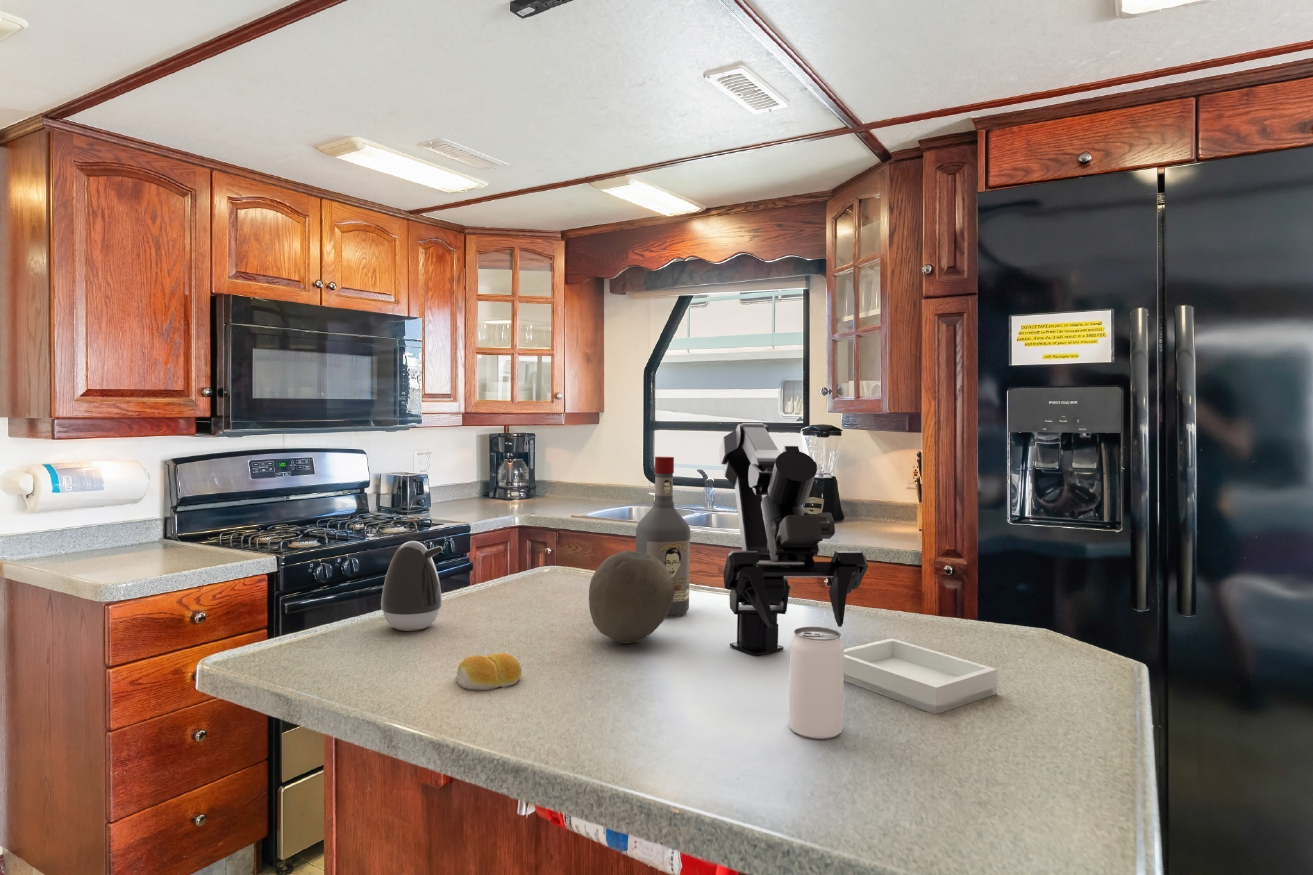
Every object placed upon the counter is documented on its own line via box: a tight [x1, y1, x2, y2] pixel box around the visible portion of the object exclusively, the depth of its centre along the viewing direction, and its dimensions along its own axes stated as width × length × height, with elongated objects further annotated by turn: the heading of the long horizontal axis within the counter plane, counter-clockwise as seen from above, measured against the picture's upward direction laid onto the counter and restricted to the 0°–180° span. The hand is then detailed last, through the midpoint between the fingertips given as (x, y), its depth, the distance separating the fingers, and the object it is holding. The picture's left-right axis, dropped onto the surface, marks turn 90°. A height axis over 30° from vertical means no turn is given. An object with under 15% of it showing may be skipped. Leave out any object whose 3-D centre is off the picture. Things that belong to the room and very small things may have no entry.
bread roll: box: [455, 653, 522, 691], centre depth 113 cm, size 8×9×4 cm
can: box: [788, 626, 845, 740], centre depth 97 cm, size 6×6×12 cm
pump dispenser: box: [380, 540, 443, 632], centre depth 140 cm, size 10×10×15 cm
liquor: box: [635, 456, 691, 618], centre depth 154 cm, size 9×9×30 cm
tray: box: [843, 638, 998, 715], centre depth 115 cm, size 18×14×4 cm
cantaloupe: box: [588, 550, 674, 644], centre depth 134 cm, size 14×14×15 cm
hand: (805, 625), depth 102 cm, fingers open, 9 cm apart
